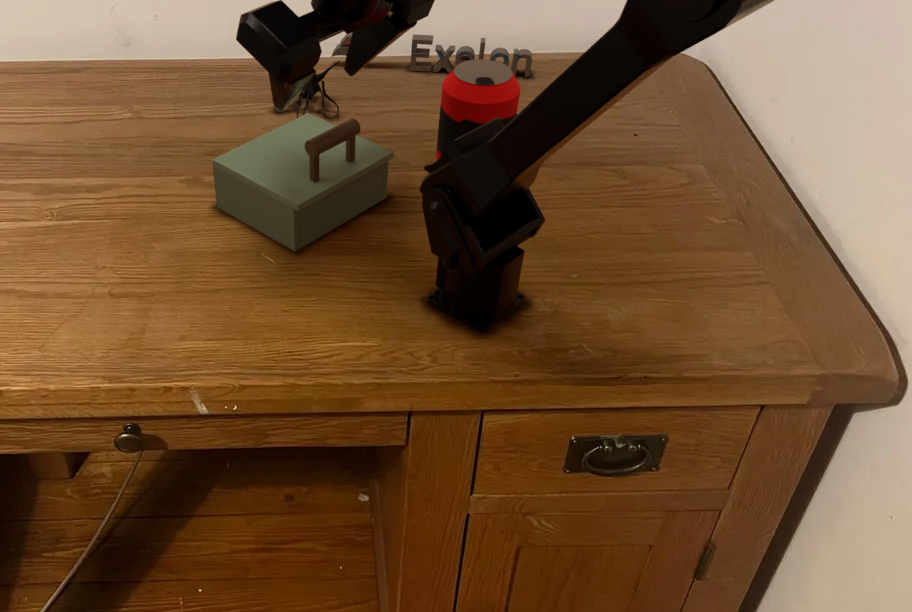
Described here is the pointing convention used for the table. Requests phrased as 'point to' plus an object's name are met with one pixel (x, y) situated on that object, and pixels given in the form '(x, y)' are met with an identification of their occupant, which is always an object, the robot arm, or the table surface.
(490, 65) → the soda can
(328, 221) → the compartment
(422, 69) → the extruded letter logo
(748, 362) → the table surface
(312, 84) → the creature
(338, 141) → the lid
